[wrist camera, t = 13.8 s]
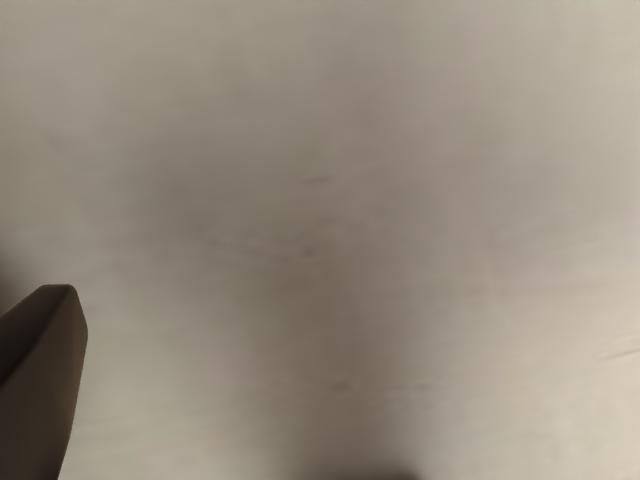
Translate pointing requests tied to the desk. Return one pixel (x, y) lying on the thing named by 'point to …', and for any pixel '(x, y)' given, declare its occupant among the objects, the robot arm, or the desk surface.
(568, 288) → the desk surface
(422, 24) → the desk surface
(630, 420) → the desk surface
